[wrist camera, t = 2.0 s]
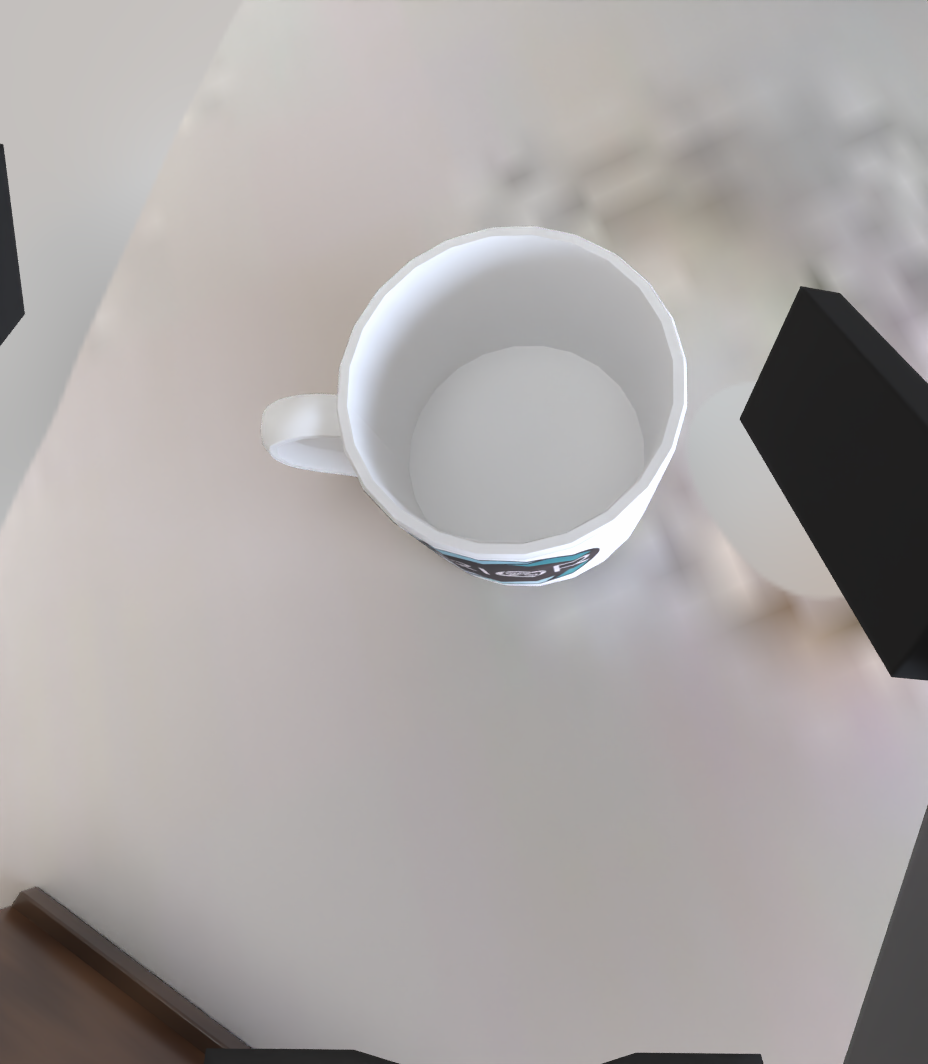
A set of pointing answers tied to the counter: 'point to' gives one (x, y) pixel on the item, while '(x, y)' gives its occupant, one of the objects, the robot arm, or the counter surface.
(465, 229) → the counter surface
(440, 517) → the mug
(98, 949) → the wall board
